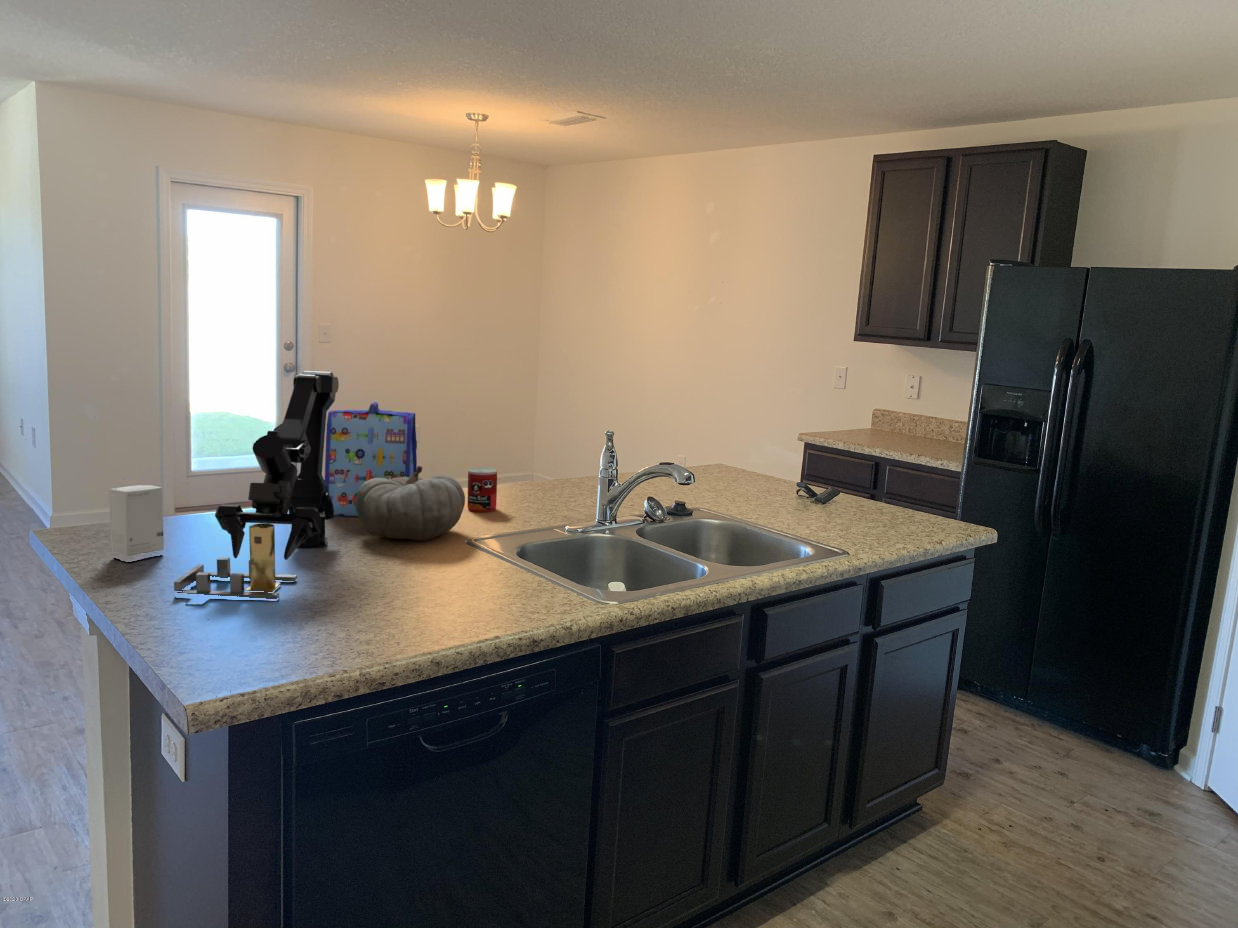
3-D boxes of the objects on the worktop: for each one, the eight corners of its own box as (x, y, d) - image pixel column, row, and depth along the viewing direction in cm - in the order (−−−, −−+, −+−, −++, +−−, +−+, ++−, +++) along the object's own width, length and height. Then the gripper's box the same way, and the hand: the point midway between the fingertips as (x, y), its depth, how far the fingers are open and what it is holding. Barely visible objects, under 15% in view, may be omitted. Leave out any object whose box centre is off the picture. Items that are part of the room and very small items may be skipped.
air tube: (254, 585, 171) (252, 522, 169) (280, 586, 172) (279, 523, 169) (245, 594, 166) (243, 529, 164) (272, 594, 167) (271, 530, 165)
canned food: (462, 510, 240) (463, 470, 238) (475, 505, 247) (476, 466, 245) (488, 514, 238) (489, 473, 236) (500, 508, 245) (501, 468, 243)
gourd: (457, 541, 199) (447, 464, 198) (347, 554, 200) (336, 478, 199) (476, 526, 224) (467, 457, 223) (378, 537, 225) (368, 469, 223)
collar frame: (200, 577, 174) (199, 555, 173) (297, 580, 175) (296, 558, 175) (165, 604, 159) (164, 580, 158) (271, 607, 160) (270, 583, 159)
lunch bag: (417, 507, 241) (419, 401, 236) (407, 519, 228) (408, 407, 222) (336, 504, 240) (336, 397, 235) (321, 516, 227) (320, 403, 222)
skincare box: (127, 564, 180) (124, 492, 178) (110, 558, 183) (106, 488, 181) (166, 555, 188) (163, 486, 185) (148, 550, 191) (145, 482, 188)
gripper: (217, 462, 168) (195, 534, 159) (318, 466, 169) (301, 537, 161) (233, 495, 177) (213, 564, 168) (329, 498, 179) (314, 567, 170)
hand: (260, 557), depth 167 cm, fingers open, 9 cm apart
